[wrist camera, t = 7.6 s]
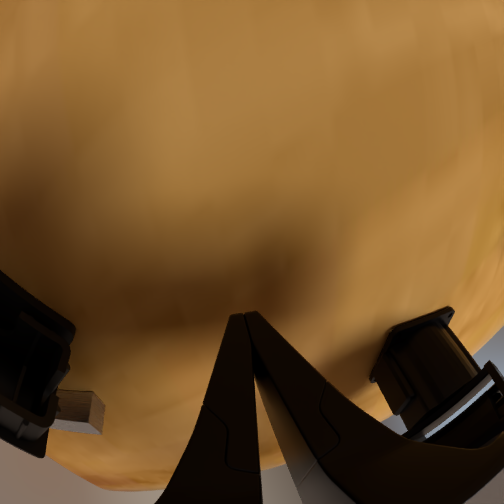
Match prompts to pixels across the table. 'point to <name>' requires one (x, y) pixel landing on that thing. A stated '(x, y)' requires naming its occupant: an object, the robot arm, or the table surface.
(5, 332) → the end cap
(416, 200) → the table surface
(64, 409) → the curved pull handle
